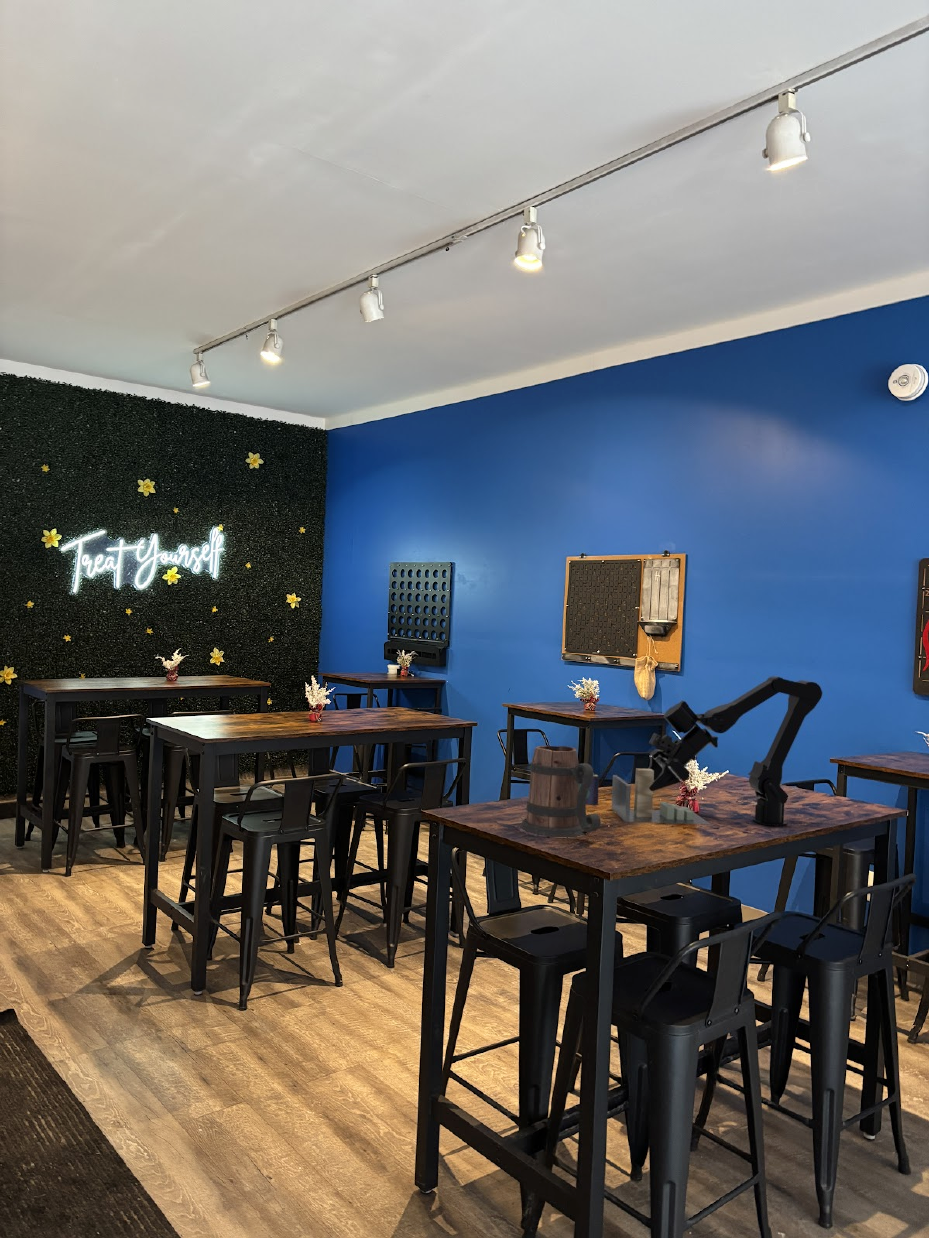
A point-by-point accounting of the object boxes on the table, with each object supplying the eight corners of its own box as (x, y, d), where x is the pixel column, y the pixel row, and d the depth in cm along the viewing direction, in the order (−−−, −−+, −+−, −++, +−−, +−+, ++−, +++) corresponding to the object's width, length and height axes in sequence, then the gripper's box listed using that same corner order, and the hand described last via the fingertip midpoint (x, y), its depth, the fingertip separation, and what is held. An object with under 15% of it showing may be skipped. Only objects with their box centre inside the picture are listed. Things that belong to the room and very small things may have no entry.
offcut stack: (685, 814, 246) (686, 802, 246) (693, 820, 239) (694, 808, 239) (659, 813, 245) (660, 802, 245) (667, 819, 238) (667, 807, 238)
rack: (691, 814, 251) (693, 777, 251) (711, 828, 235) (712, 788, 235) (611, 812, 249) (612, 775, 249) (625, 825, 233) (626, 785, 233)
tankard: (503, 826, 226) (506, 744, 226) (554, 820, 236) (558, 741, 236) (569, 848, 207) (573, 758, 207) (622, 840, 217) (626, 754, 217)
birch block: (648, 814, 243) (650, 768, 243) (651, 817, 240) (653, 770, 240) (633, 814, 243) (635, 768, 243) (636, 816, 240) (638, 770, 240)
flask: (563, 804, 257) (565, 766, 257) (567, 803, 259) (569, 764, 259) (596, 809, 253) (598, 769, 253) (599, 807, 255) (601, 768, 255)
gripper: (659, 719, 251) (617, 758, 251) (679, 727, 233) (633, 769, 232) (686, 749, 252) (644, 788, 251) (708, 760, 233) (663, 802, 232)
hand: (645, 786), depth 242 cm, fingers open, 9 cm apart
